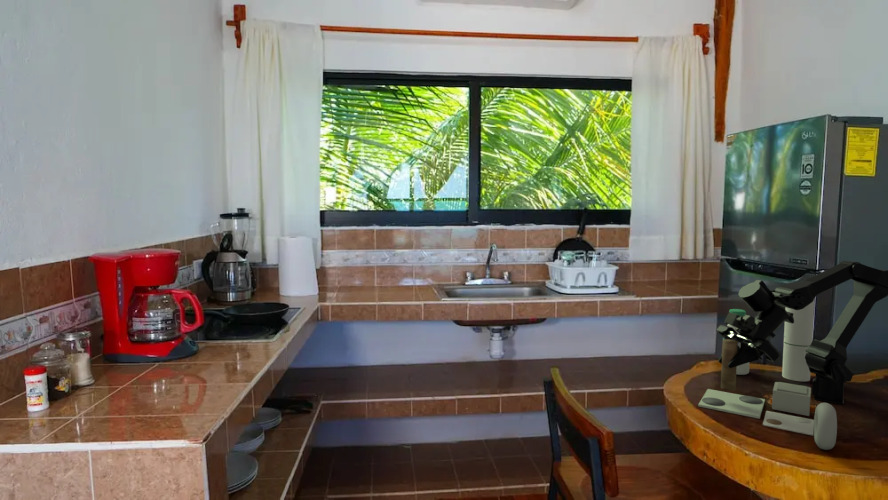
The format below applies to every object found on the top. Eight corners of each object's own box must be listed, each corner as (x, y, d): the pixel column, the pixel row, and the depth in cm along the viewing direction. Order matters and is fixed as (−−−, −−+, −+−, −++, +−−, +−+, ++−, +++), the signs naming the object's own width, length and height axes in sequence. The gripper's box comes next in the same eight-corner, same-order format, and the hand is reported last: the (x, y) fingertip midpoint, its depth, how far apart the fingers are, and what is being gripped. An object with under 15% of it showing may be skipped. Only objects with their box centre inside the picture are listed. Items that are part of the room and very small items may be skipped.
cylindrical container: (807, 375, 162) (811, 296, 160) (812, 382, 155) (816, 300, 153) (780, 372, 165) (784, 294, 163) (784, 379, 158) (788, 298, 156)
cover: (809, 406, 138) (811, 386, 137) (809, 416, 131) (810, 395, 131) (774, 399, 142) (775, 380, 142) (771, 408, 136) (772, 388, 135)
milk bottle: (742, 368, 170) (744, 307, 168) (753, 375, 162) (756, 312, 160) (717, 367, 170) (719, 307, 169) (727, 375, 163) (730, 312, 161)
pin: (737, 388, 139) (740, 341, 138) (731, 391, 137) (733, 343, 136) (724, 385, 142) (726, 338, 141) (718, 387, 140) (720, 340, 139)
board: (764, 401, 141) (764, 398, 141) (759, 418, 130) (759, 415, 130) (707, 390, 149) (707, 388, 149) (698, 406, 138) (698, 403, 138)
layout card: (813, 421, 128) (814, 419, 128) (813, 435, 120) (813, 434, 120) (766, 411, 134) (766, 410, 134) (762, 425, 126) (762, 423, 126)
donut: (836, 459, 109) (839, 413, 108) (816, 455, 111) (819, 410, 110) (830, 440, 118) (833, 397, 117) (812, 437, 119) (814, 395, 118)
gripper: (724, 296, 147) (685, 335, 147) (770, 309, 129) (726, 354, 129) (749, 323, 148) (710, 362, 148) (799, 340, 130) (755, 384, 130)
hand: (724, 364), depth 139 cm, fingers closed on pin, 3 cm apart
